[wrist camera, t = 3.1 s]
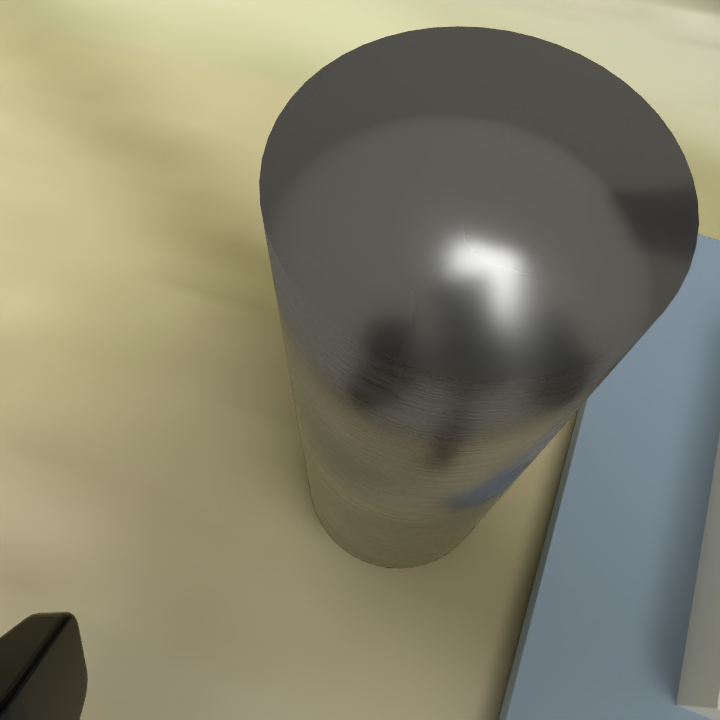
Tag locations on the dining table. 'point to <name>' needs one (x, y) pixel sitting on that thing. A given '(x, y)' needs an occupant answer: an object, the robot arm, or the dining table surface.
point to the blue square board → (636, 535)
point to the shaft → (460, 268)
